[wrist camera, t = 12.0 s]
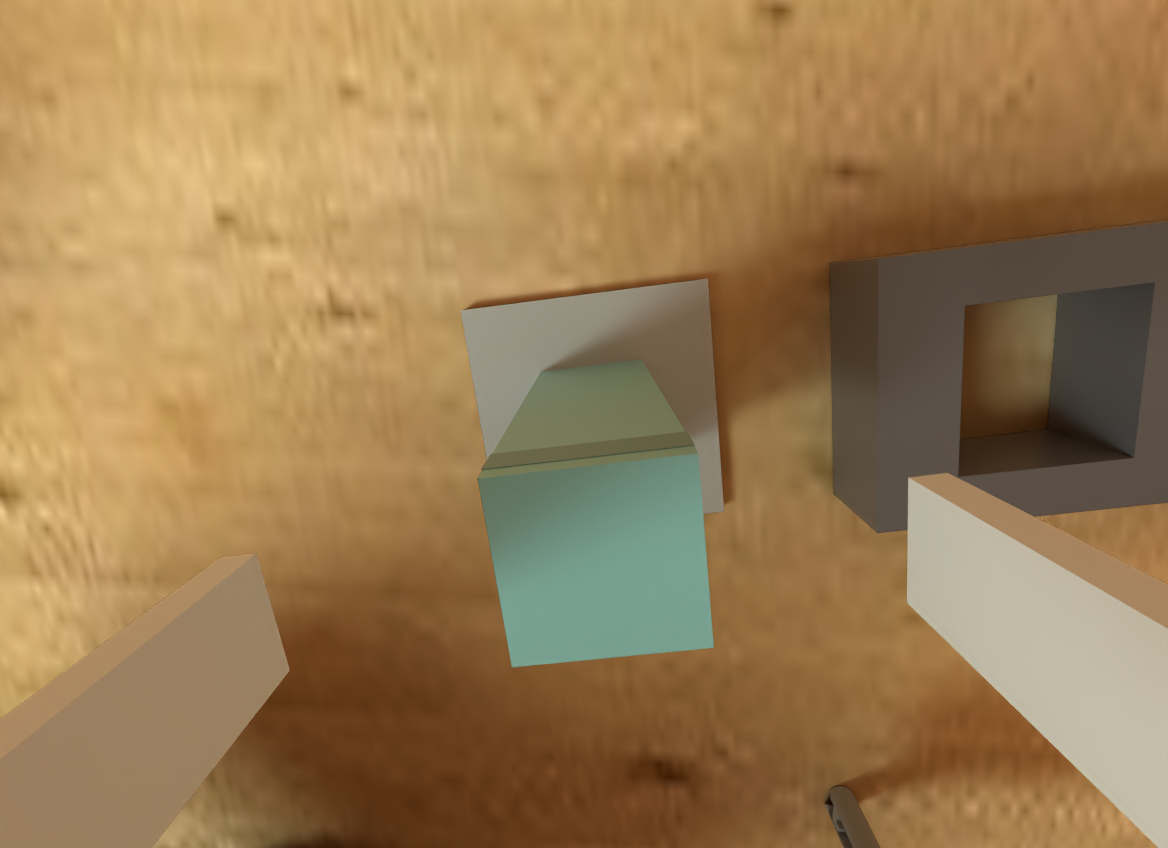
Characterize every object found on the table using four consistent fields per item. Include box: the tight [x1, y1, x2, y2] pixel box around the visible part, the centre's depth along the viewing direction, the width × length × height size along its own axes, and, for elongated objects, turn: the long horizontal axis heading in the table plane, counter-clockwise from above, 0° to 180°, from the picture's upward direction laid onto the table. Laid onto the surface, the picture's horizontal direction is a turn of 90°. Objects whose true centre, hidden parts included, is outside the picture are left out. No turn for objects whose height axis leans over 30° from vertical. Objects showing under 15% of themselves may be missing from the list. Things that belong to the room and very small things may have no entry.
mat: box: [461, 279, 724, 514], centre depth 24 cm, size 10×10×1 cm
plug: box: [478, 359, 714, 667], centre depth 17 cm, size 4×4×13 cm
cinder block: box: [830, 219, 1168, 533], centre depth 21 cm, size 20×10×4 cm, turn 97°
